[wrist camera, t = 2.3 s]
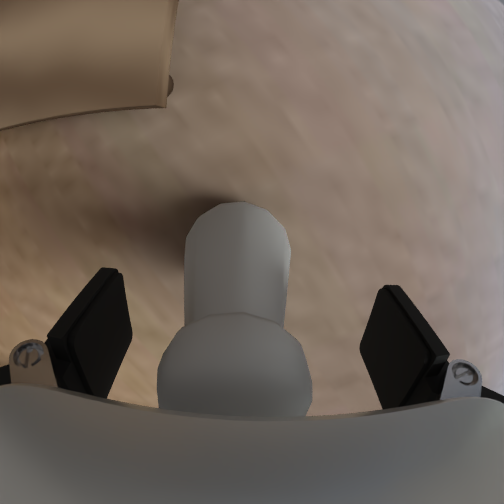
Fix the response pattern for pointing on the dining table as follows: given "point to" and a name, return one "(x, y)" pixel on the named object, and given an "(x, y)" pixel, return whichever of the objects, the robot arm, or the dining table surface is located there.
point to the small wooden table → (83, 57)
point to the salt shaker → (235, 322)
